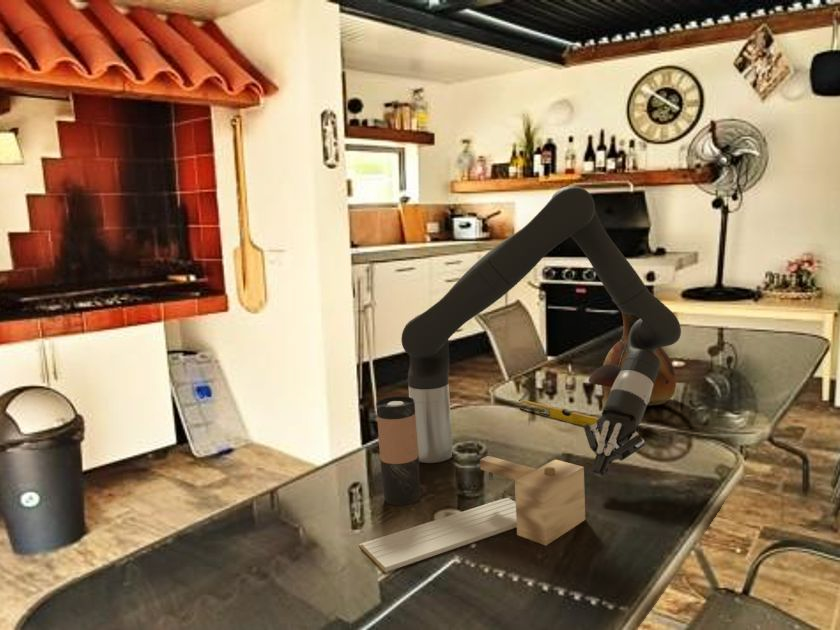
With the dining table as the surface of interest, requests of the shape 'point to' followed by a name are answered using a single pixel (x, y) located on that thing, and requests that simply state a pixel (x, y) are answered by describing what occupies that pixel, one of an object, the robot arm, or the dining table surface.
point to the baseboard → (442, 534)
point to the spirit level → (564, 414)
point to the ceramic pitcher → (666, 374)
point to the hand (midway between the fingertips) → (597, 474)
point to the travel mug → (398, 450)
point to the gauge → (543, 496)
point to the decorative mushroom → (605, 378)
